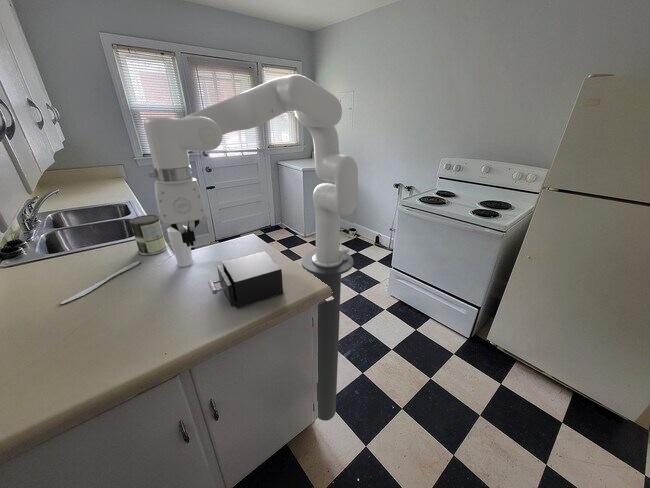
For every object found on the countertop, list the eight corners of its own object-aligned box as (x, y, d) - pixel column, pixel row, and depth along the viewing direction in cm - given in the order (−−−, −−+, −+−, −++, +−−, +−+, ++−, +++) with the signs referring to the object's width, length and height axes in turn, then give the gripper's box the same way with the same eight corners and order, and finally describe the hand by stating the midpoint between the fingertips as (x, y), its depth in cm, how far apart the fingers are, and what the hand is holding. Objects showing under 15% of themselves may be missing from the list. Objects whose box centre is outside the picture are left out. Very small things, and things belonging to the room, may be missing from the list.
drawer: (217, 311, 78) (213, 290, 75) (207, 288, 88) (203, 269, 85) (273, 292, 86) (272, 273, 83) (259, 274, 97) (257, 256, 94)
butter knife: (142, 262, 104) (135, 260, 105) (65, 304, 81) (57, 302, 81) (142, 263, 104) (136, 262, 105) (65, 306, 81) (58, 304, 82)
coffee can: (135, 256, 110) (124, 224, 104) (144, 245, 119) (135, 215, 113) (162, 254, 112) (153, 222, 106) (170, 243, 121) (162, 214, 115)
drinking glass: (187, 258, 109) (178, 223, 102) (199, 262, 106) (191, 226, 100) (172, 266, 103) (162, 229, 97) (184, 270, 100) (175, 233, 94)
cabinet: (238, 308, 81) (234, 282, 77) (226, 284, 92) (222, 261, 88) (283, 293, 88) (281, 268, 84) (266, 273, 99) (264, 251, 95)
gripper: (137, 180, 57) (158, 256, 65) (210, 174, 65) (222, 243, 72) (137, 174, 63) (156, 245, 71) (204, 169, 70) (216, 234, 78)
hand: (190, 244), depth 72 cm, fingers closed
